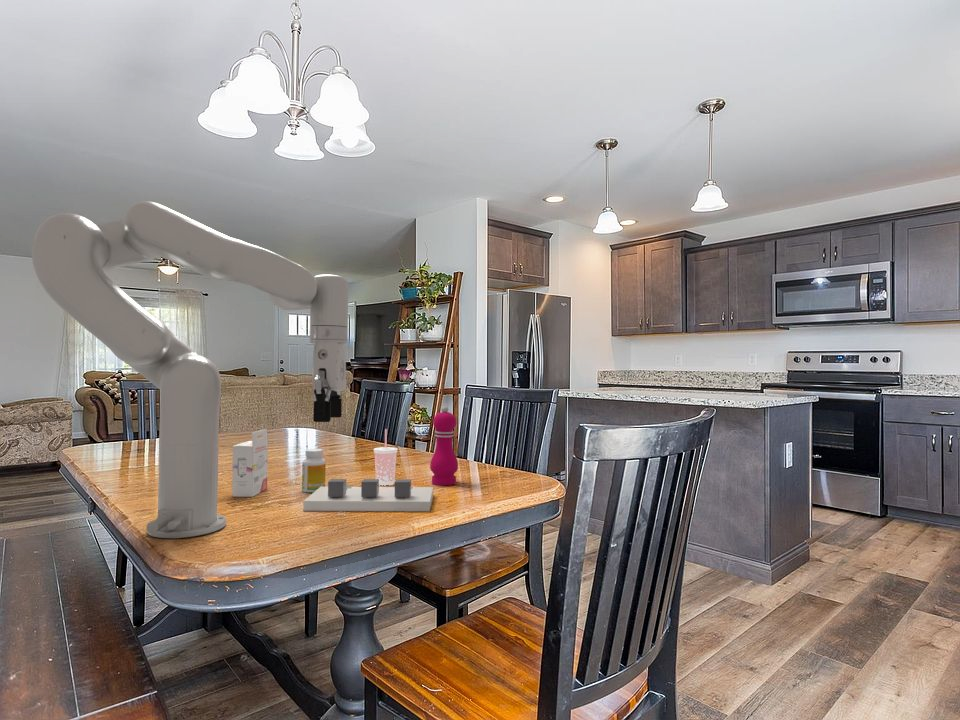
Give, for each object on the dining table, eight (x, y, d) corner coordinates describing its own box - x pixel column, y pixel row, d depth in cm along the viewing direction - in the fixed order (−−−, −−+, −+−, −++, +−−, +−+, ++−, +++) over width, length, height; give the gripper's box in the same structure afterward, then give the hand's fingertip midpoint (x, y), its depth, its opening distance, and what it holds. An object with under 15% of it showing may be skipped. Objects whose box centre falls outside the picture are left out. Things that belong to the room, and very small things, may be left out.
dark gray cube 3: (409, 497, 116) (409, 482, 116) (394, 497, 116) (394, 482, 116) (411, 494, 119) (411, 479, 119) (396, 493, 119) (396, 479, 119)
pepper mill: (462, 482, 143) (463, 405, 144) (449, 487, 137) (450, 407, 137) (438, 479, 146) (439, 404, 147) (424, 484, 140) (425, 406, 140)
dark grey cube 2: (376, 497, 116) (376, 481, 116) (361, 497, 116) (361, 481, 116) (378, 493, 119) (378, 479, 119) (363, 493, 119) (364, 478, 119)
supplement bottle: (329, 489, 133) (330, 449, 133) (313, 493, 128) (314, 452, 128) (313, 487, 135) (314, 447, 135) (296, 491, 130) (297, 450, 131)
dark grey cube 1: (343, 496, 116) (343, 481, 116) (327, 496, 115) (328, 481, 115) (346, 493, 119) (346, 478, 119) (331, 493, 118) (331, 478, 118)
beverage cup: (390, 487, 136) (391, 430, 137) (368, 485, 138) (369, 429, 138) (401, 482, 142) (401, 428, 142) (379, 480, 144) (380, 427, 144)
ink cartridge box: (247, 488, 133) (248, 427, 133) (267, 489, 132) (268, 428, 133) (230, 497, 124) (231, 432, 124) (252, 497, 124) (253, 432, 124)
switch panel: (429, 511, 114) (429, 501, 114) (303, 510, 113) (303, 500, 113) (433, 495, 128) (433, 486, 128) (320, 495, 127) (320, 486, 127)
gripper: (337, 333, 104) (336, 423, 104) (355, 338, 121) (354, 415, 121) (297, 333, 104) (296, 423, 103) (321, 338, 121) (320, 415, 121)
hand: (328, 419), depth 112 cm, fingers open, 9 cm apart
